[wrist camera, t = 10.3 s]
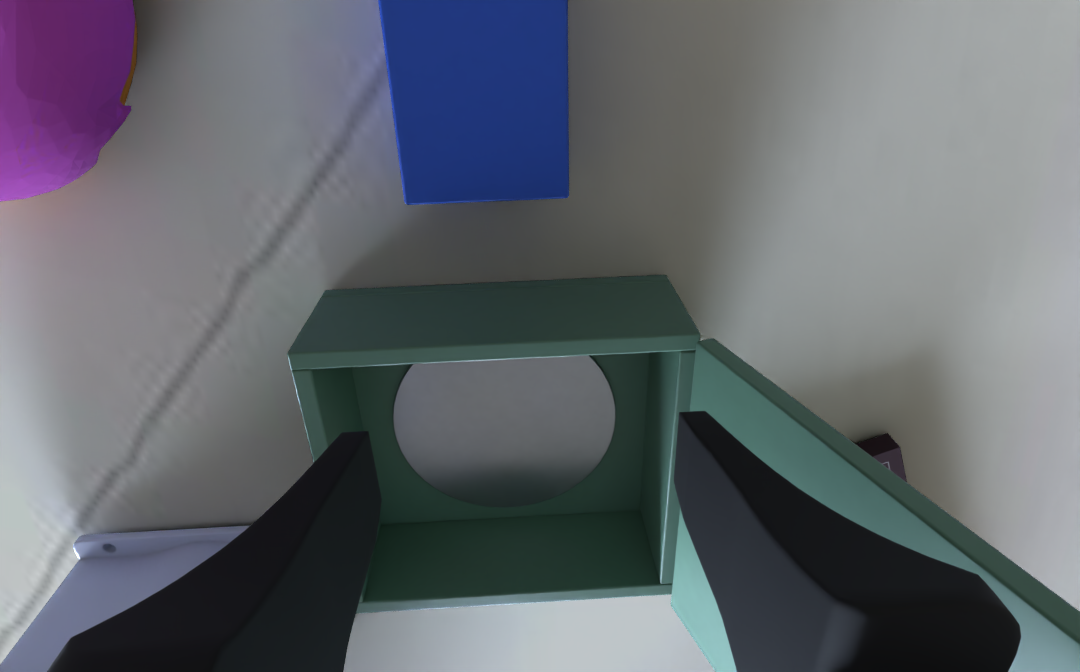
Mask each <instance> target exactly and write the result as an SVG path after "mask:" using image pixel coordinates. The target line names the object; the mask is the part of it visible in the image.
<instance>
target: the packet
mask: <svg viewBox="0 0 1080 672" xmlns="http://www.w3.org/2000/svg"><path fill="white" fill-rule="evenodd" d="M378 2H379V10H380V18H381V26H382V33H383V41H384V49H385V56H386V64H387V72H388V79H389V87H390V95H391V103H392V110H393V118H394V126H395V133H396V141H397V149H398V156H399V164H400V172H401V180H402V187H403V195H404V202H405V204H407V205H419V204H443V203H467V202H491V201H515V200H539V199H564V198H568V196H569V104H568V0H378Z"/></svg>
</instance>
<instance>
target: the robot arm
mask: <svg viewBox="0 0 1080 672" xmlns="http://www.w3.org/2000/svg"><path fill="white" fill-rule="evenodd" d="M674 484H675V488H676V493H677V497H678V501H679V505H680V509H681V512H682V516H683V520H684V522H685V525H686V528H687V530H688V533H689V535H690V538H691V540H692V543H693V545H694V548H695V550H696V553H697V555H698V558H699V560H700V563H701V565H702V568H703V570H704V573H705V575H706V578H707V580H708V583H709V585H710V588H711V590H712V593H713V595H714V598H715V600H716V603H717V606H718V609H719V612H720V615H721V617H722V620H723V624H724V627H725V631H726V634H727V638H728V641H729V645H730V648H731V652H732V656H733V659H734V663H735V666H736V670H737V672H1008V671H1009V669H1010V667H1011V665H1012V663H1013V661H1014V659H1015V656H1016V654H1017V651H1018V647H1019V644H1020V640H1021V631H1020V625H1019V623H1018V622H1017V620H1016V619H1015V618H1014V616H1013V615H1012V613H1011V612H1010V611H1009V610H1008V609H1007V607H1006V606H1005V605H1004V604H1003V602H1002V601H1001V600H1000V599H999V597H998V596H997V595H996V594H995V593H994V591H993V590H992V589H991V588H990V587H989V586H988V585H987V583H986V582H985V581H984V580H983V579H982V578H981V577H980V576H979V575H978V574H975V573H973V572H970V571H967V570H964V569H962V568H959V567H956V566H953V565H950V564H948V563H945V562H942V561H939V560H937V559H934V558H931V557H928V556H926V555H923V554H921V553H919V552H916V551H914V550H912V549H909V548H907V547H905V546H902V545H900V544H898V543H896V542H893V541H891V540H889V539H887V538H885V537H883V536H881V535H878V534H876V533H874V532H872V531H870V530H868V529H867V528H865V527H863V526H861V525H859V524H857V523H855V522H853V521H851V520H849V519H848V518H846V517H844V516H842V515H840V514H839V513H837V512H835V511H834V510H832V509H830V508H829V507H827V506H825V505H824V504H822V503H821V502H819V501H817V500H816V499H814V498H813V497H811V496H809V495H808V494H806V493H805V492H803V491H802V490H801V489H799V488H798V487H796V486H795V485H793V484H792V483H791V482H789V481H788V480H787V479H785V478H784V477H783V476H781V475H780V474H779V473H777V472H776V471H775V470H773V469H772V468H771V467H769V466H768V465H767V464H766V463H764V462H763V461H762V460H761V459H759V458H758V457H757V456H756V455H755V454H753V453H752V452H751V451H750V450H749V449H748V448H746V447H745V446H744V445H743V444H742V443H741V442H740V441H738V440H737V439H736V438H735V437H734V436H733V435H732V434H731V433H729V432H728V431H727V430H726V429H725V428H724V427H723V426H722V425H721V424H720V423H718V422H717V421H716V420H715V419H714V418H713V417H712V416H711V415H710V414H708V413H707V412H706V411H690V412H679V420H678V432H677V445H676V458H675V470H674ZM381 502H382V498H381V493H380V488H379V483H378V478H377V472H376V467H375V462H374V457H373V452H372V447H371V442H370V437H369V432H368V431H358V432H342V433H341V434H340V435H339V436H338V437H337V438H336V439H335V440H334V441H333V442H332V443H331V444H330V446H329V447H328V448H327V449H326V450H325V451H324V452H323V453H322V454H321V456H320V457H319V458H318V459H317V460H316V461H315V462H314V463H313V464H312V465H311V467H310V468H309V469H308V470H307V471H306V472H305V473H304V474H303V475H302V476H301V477H300V478H299V479H298V480H297V482H296V483H295V484H294V485H293V486H292V487H291V488H290V489H289V490H288V491H287V492H286V493H285V494H284V495H283V496H282V497H281V498H280V499H279V500H278V501H277V502H276V503H275V504H273V505H272V506H271V507H270V508H269V509H268V510H267V511H266V512H265V513H264V514H263V515H262V516H261V517H260V518H259V519H258V520H256V521H255V522H254V523H253V524H252V525H250V526H232V527H214V528H197V529H179V530H161V531H144V532H126V533H108V534H90V535H82V536H80V537H79V538H78V539H77V540H76V542H75V543H74V545H73V548H74V551H75V553H76V555H77V557H78V559H79V561H78V562H77V564H76V565H75V566H74V568H73V569H72V570H71V571H70V573H69V574H68V575H67V577H66V578H65V579H64V581H63V582H62V583H61V585H60V586H59V587H58V589H57V590H56V591H55V593H54V594H53V595H52V597H51V598H50V599H49V601H48V602H47V603H46V605H45V606H44V607H43V609H42V610H41V611H40V613H39V614H38V615H37V617H36V618H35V619H34V621H33V622H32V623H31V625H30V626H29V627H28V629H27V630H26V631H25V633H24V634H23V635H22V637H21V638H20V639H19V641H18V642H17V643H16V644H15V646H14V647H13V648H12V650H11V651H10V652H9V654H8V655H7V656H6V658H5V659H4V660H3V662H2V663H1V664H0V672H343V670H344V664H345V658H346V652H347V646H348V642H349V638H350V633H351V629H352V625H353V622H354V618H355V614H356V611H357V607H358V604H359V600H360V597H361V593H362V589H363V586H364V582H365V579H366V575H367V572H368V568H369V564H370V561H371V557H372V553H373V550H374V546H375V542H376V538H377V531H378V524H379V517H380V510H381ZM111 544H112V545H111Z"/></svg>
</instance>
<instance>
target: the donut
mask: <svg viewBox="0 0 1080 672" xmlns="http://www.w3.org/2000/svg"><path fill="white" fill-rule="evenodd" d="M136 57H137V25H136V16H135V11H134V7H133V0H0V201H8V200H16V199H25V198H29V197H32V196H36V195H40V194H43V193H47V192H51V191H53V190H56V189H59V188H61V187H63V186H65V185H67V184H69V183H70V182H72V181H74V180H75V179H77V178H79V177H80V176H81V175H83V174H84V173H85V172H87V171H88V170H90V169H91V168H92V167H93V166H94V165H95V164H96V163H97V160H98V156H99V152H100V149H101V148H102V147H103V146H104V145H105V144H106V143H107V141H108V140H109V139H110V138H111V137H112V136H113V134H114V133H115V132H116V131H117V129H118V128H119V127H120V126H121V125H122V123H123V122H124V121H125V119H126V118H127V116H128V114H129V113H130V111H131V106H125V102H126V99H127V95H128V92H129V89H130V86H131V82H132V78H133V74H134V70H135V66H136Z"/></svg>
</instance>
